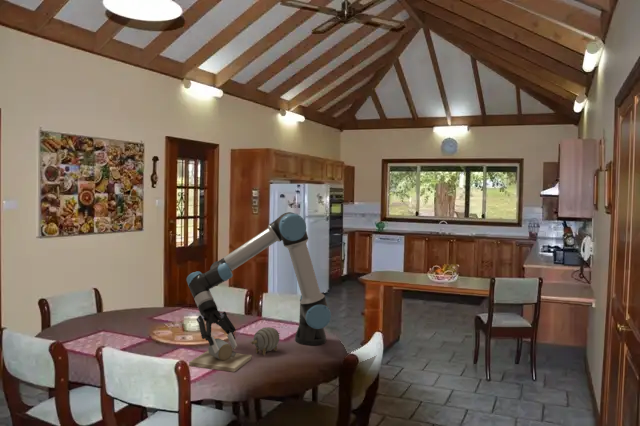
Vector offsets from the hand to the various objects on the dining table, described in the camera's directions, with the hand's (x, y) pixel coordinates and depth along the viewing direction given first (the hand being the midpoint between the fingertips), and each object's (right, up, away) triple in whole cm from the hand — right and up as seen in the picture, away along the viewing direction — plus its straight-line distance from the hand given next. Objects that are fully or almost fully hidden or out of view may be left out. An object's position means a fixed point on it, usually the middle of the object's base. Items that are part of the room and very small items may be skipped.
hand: (226, 349), depth 223 cm
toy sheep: (+14, -6, +19) cm, 24 cm away
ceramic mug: (-2, -5, +3) cm, 6 cm away
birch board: (-3, -6, +3) cm, 7 cm away
